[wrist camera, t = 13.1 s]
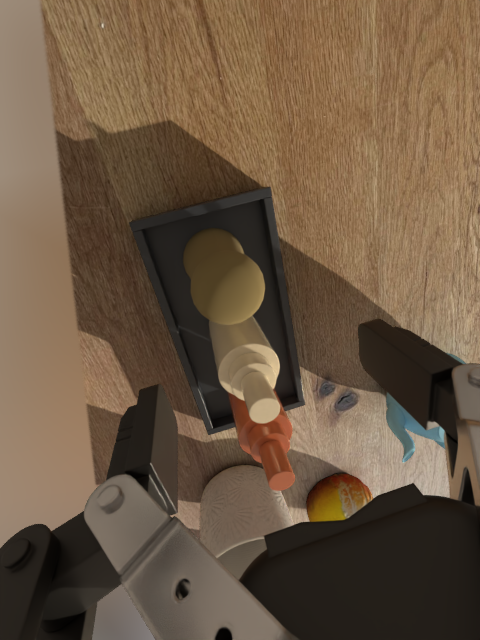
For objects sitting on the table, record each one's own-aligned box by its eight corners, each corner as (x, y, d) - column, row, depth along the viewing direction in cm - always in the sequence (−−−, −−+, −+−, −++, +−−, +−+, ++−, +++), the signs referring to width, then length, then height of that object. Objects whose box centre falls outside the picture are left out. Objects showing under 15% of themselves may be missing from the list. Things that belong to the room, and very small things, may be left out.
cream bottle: (198, 329, 32) (210, 419, 19) (230, 293, 31) (265, 365, 18) (233, 354, 34) (264, 450, 21) (264, 322, 33) (316, 403, 20)
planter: (263, 442, 41) (289, 521, 32) (286, 493, 47) (315, 573, 37) (181, 476, 41) (182, 566, 31) (214, 523, 47) (224, 612, 37)
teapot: (414, 421, 46) (472, 479, 37) (350, 402, 41) (398, 462, 32) (469, 353, 42) (549, 399, 33) (403, 324, 38) (475, 368, 29)
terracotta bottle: (216, 383, 35) (236, 490, 23) (245, 353, 34) (283, 447, 22) (246, 403, 37) (280, 511, 25) (275, 375, 36) (325, 473, 24)
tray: (132, 220, 27) (128, 222, 25) (263, 186, 28) (270, 186, 26) (207, 422, 38) (208, 435, 36) (298, 393, 39) (305, 404, 37)
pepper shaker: (235, 294, 31) (262, 344, 21) (177, 282, 29) (176, 330, 19) (251, 236, 29) (288, 261, 19) (189, 220, 27) (195, 238, 17)
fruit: (350, 518, 52) (363, 569, 45) (295, 499, 52) (298, 547, 45) (380, 475, 48) (400, 522, 41) (321, 454, 48) (330, 498, 41)
